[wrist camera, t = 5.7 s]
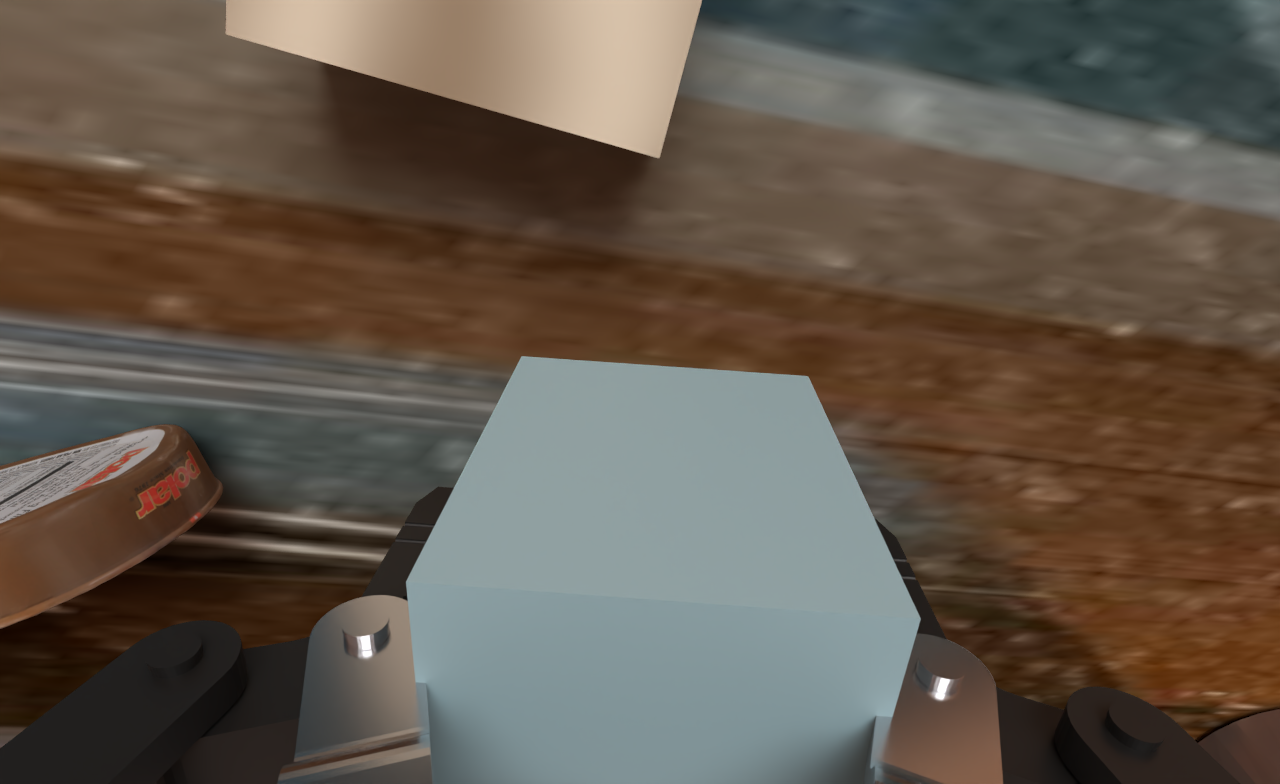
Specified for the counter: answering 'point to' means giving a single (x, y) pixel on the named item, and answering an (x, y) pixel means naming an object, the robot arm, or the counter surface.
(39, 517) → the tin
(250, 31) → the birch block
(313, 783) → the robot arm
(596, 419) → the blue-gray block
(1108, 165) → the counter surface
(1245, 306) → the counter surface
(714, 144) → the counter surface
